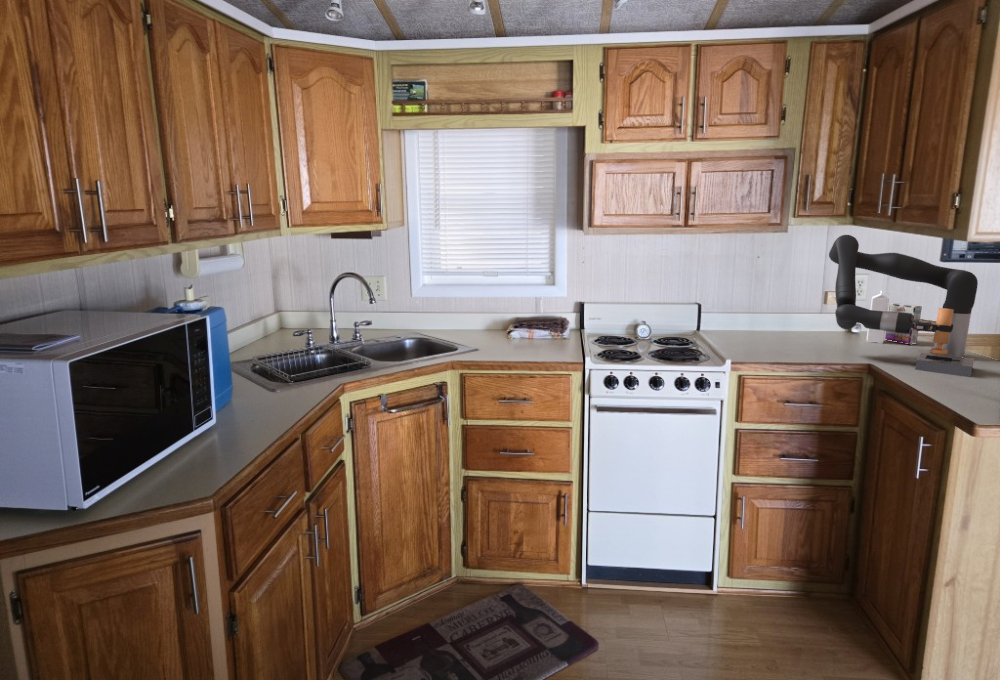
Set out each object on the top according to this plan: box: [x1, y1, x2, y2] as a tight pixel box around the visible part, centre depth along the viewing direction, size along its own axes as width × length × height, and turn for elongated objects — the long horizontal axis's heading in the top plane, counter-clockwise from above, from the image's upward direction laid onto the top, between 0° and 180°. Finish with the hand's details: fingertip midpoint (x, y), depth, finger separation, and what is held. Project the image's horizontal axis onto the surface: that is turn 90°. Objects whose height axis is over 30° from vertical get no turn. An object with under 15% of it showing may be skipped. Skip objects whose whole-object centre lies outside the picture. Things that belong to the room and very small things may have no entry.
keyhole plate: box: [914, 352, 975, 378], centre depth 231 cm, size 16×16×4 cm
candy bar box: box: [884, 302, 923, 344], centre depth 277 cm, size 11×5×16 cm, turn 25°
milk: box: [865, 290, 890, 344], centre depth 277 cm, size 6×6×22 cm
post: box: [929, 307, 954, 355], centre depth 230 cm, size 5×5×16 cm
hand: (952, 328), depth 228 cm, fingers closed on post, 4 cm apart
